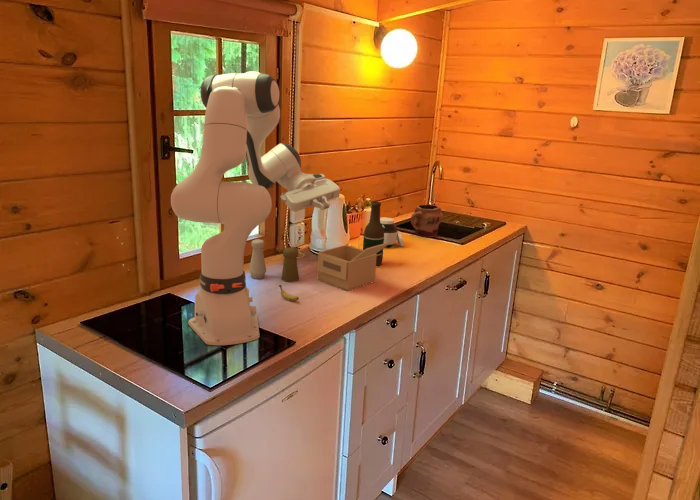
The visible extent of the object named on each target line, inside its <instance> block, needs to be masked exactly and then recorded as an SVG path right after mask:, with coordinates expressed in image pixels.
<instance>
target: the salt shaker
mask: <svg viewBox="0 0 700 500" xmlns="http://www.w3.org/2000/svg"><path fill="white" fill-rule="evenodd" d="M250 244H251V248H252V254H251V259H250V262H249V263H250V264H249V268H248V269H249V270H248V271H249V274H250V277H252V279H257V280H258V279H263V278H264V276H265V275H266V273H267V267H266V261H265V255H264V250H263V248H264V247H265V241H264V240H263V239H258V238H257V239H253V240H252V241H251V243H250Z"/></svg>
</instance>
